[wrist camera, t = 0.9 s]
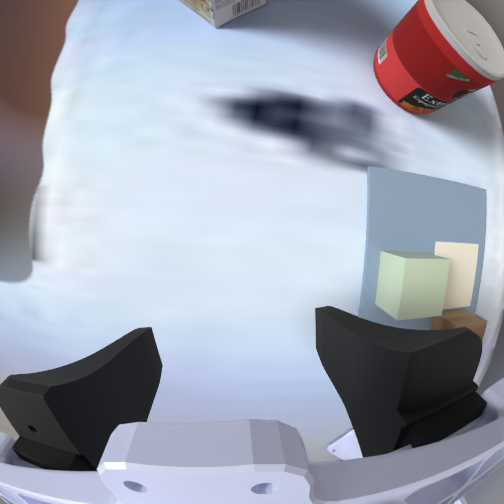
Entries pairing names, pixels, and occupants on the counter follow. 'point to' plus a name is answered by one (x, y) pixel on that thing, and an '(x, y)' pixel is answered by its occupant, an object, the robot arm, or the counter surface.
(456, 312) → the walnut block
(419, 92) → the canned food
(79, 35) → the counter surface
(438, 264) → the sage block
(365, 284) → the board
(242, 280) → the counter surface
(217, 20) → the coffee box
